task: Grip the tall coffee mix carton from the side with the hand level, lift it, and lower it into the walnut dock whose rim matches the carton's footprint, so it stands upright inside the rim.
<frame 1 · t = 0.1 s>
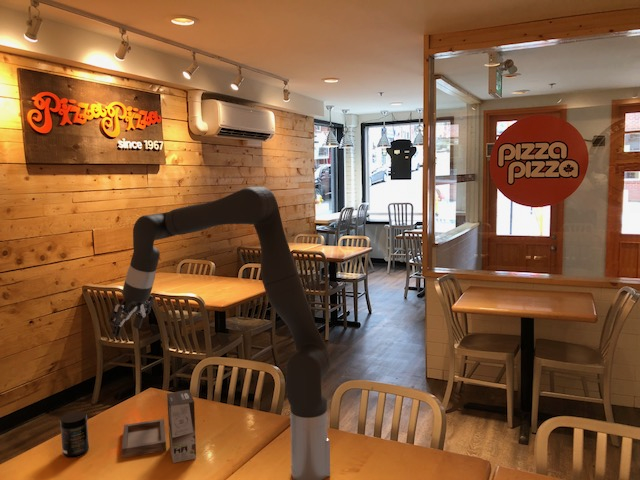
hand: (126, 331, 150), 31 cm above the table, tool tilted 20°, fingers open, 8 cm apart
coffee box: (182, 453, 144), on the table
supplement container: (76, 453, 145), on the table
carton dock: (144, 441, 150), on the table
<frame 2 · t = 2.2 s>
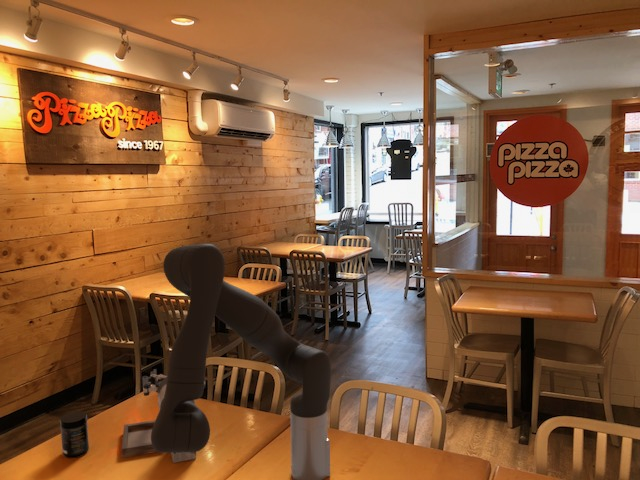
hand: (172, 370, 129), 28 cm above the table, tool horizontal, fingers open, 8 cm apart
nothing on the table moved.
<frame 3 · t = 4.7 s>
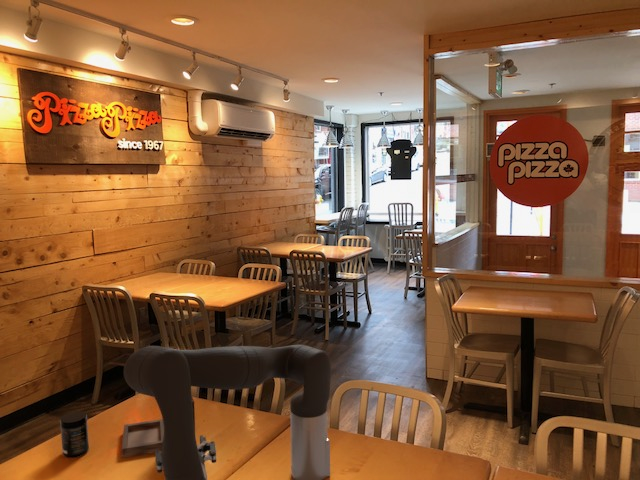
hand: (184, 441, 133), 9 cm above the table, tool horizontal, fingers open, 8 cm apart
nothing on the table moved.
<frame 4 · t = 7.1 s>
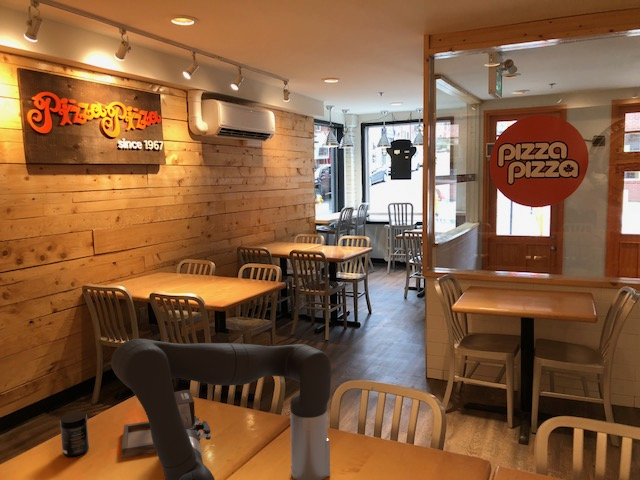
hand: (181, 421, 144), 9 cm above the table, tool horizontal, fingers closed on coffee box, 6 cm apart
coffee box: (182, 453, 144), on the table, touching gripper
everything else where it was.
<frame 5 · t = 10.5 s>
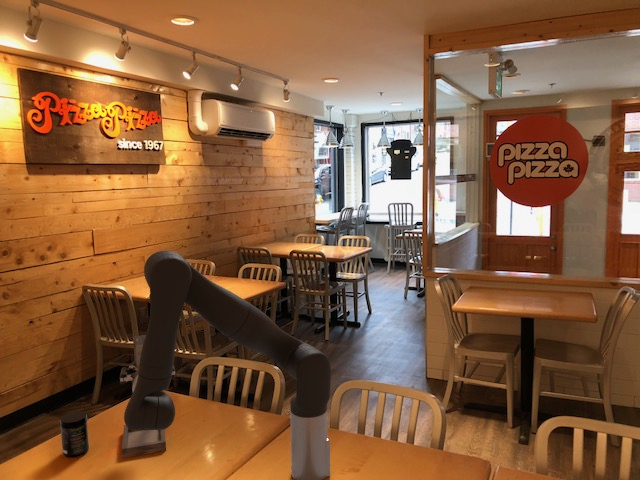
hand: (147, 363, 146), 24 cm above the table, tool horizontal, fingers closed on coffee box, 6 cm apart
coffee box: (149, 395, 146), point 15 cm above the table, touching gripper
everything else where it was.
when the fingers open (11 cm above the table, at t = 13.9 s): coffee box stays where it is, resting on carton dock.
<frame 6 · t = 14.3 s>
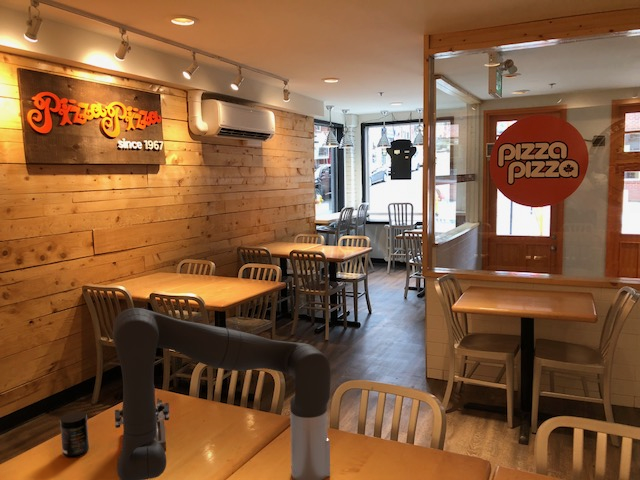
hand: (142, 403, 150), 11 cm above the table, tool horizontal, fingers open, 8 cm apart
coffee box: (144, 438, 150), point 1 cm above the table, touching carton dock
everything else where it was.
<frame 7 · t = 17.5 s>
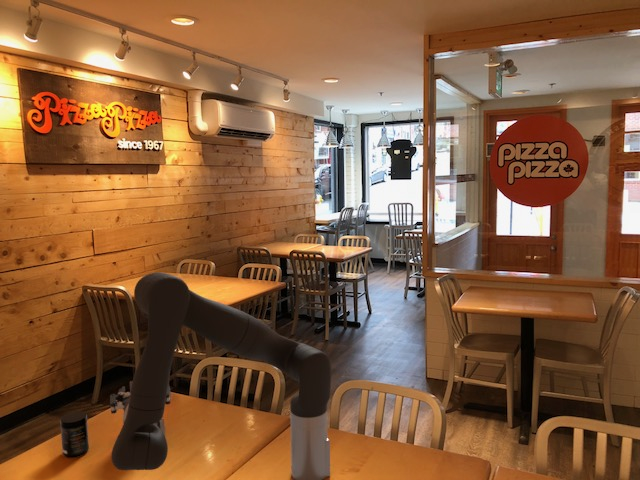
hand: (141, 387, 136), 21 cm above the table, tool horizontal, fingers open, 8 cm apart
nothing on the table moved.
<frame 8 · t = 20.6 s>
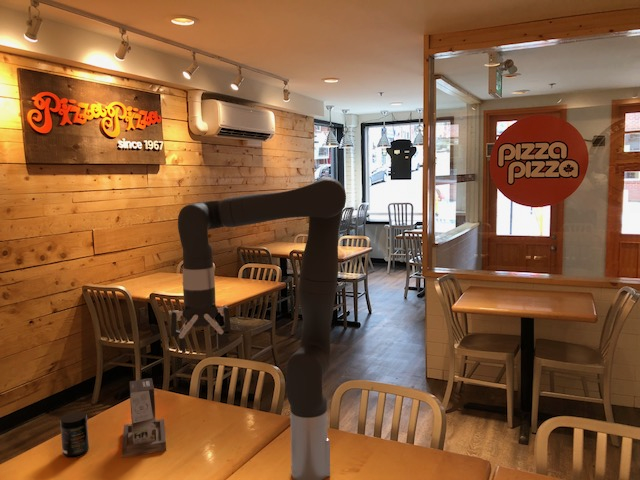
hand: (201, 349, 129), 33 cm above the table, tool pointing down, fingers open, 8 cm apart
nothing on the table moved.
at the end: coffee box 0.2 cm off-centre on the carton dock, point 0.8 cm above the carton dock's base; coffee box tilted 0°; the gripper is holding nothing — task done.
